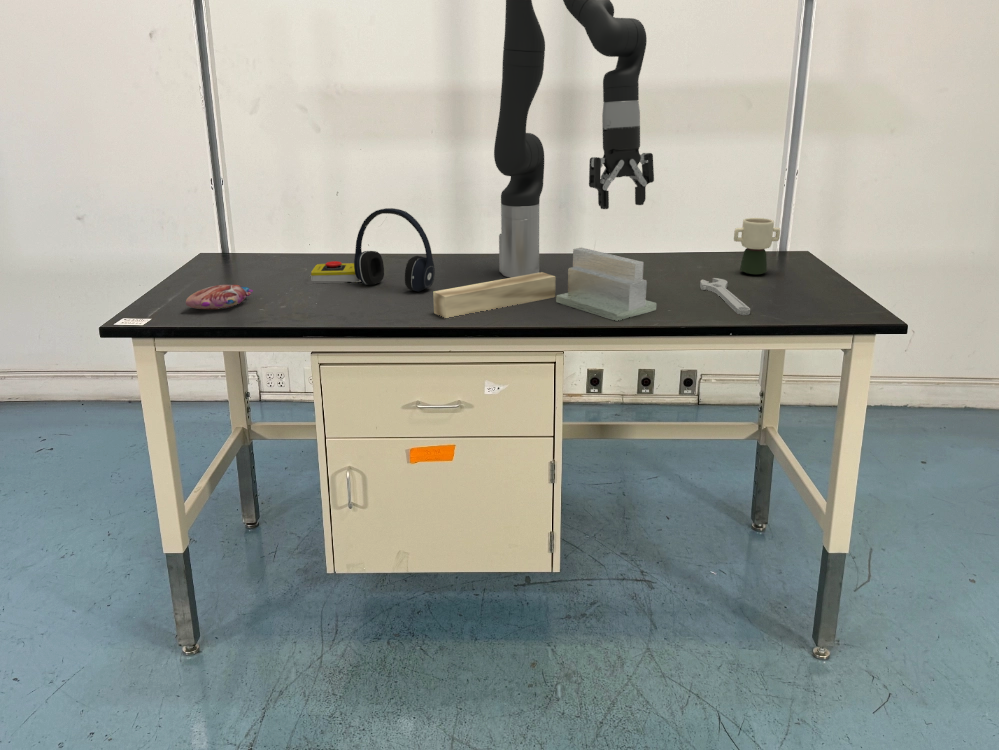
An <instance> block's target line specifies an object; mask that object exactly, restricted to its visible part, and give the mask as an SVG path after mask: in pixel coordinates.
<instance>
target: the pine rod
mask: <svg viewBox="0 0 999 750" xmlns="http://www.w3.org/2000/svg"><path fill="white" fill-rule="evenodd" d="M556 278H557V277H556V276H555V275H552V274H549V273H546V272H543V271H541V272H540V271H539V273H534V274H529V275H523V276H517V277H507V278H503V279H495V280H491V281H485V282H479V283H473V284H468V285H462V286H458V287H457V286H456V287H452V288H446V289H445V288H444V289H439V290H435V291H433V292H432V293H433V298H432V299H433V313H434V314H435V315H436V316H439V315H440V316H439V317H441V316H442V317H441V318H443V317H444V318H443V319H445V318H449V317H454V316H459V315H464V316H466V315H465V314H469V313H474V314H476V313H475V312H479V313H481V312H480V311H484V312H487V311H486V310H488V311H492V310H491V309H493V310H497V309H496V308H498V309H502V307H503V308H506V307H507V306H508V307H512V305H513V306H518V305H523V304H528V303H533V302H536V301H537V302H538V301H542V300H547V299H553V298H556ZM517 304H518V305H517ZM508 307H507V308H508ZM469 315H470V314H469ZM459 317H460V316H459ZM454 318H455V317H454ZM449 319H450V318H449Z"/></svg>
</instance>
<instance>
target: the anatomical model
mask: <svg viewBox="0 0 999 750" xmlns="http://www.w3.org/2000/svg"><path fill="white" fill-rule="evenodd" d="M253 292H254V290H253V289H250V288H249V287H248V286H242V285H239V284H217V285H213V286H212V285H211V286H209V287H206V288H203V289H199V290H197V291H196V292H194V293H192V294H191V295H189V296H188V297H187V298H186V300H185V305H186V306H187V307H189V308H192V309H198V310H219V309H218V308H225V309H227V308H226V307H229V308H232V307H235V306H238V305H240V304H241V302H242V303H243V302H244V301H245V300H246V297H250V295H251V294H252V293H253ZM237 304H238V305H237ZM234 305H235V306H234ZM231 306H232V307H231Z"/></svg>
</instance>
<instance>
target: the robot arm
mask: <svg viewBox="0 0 999 750" xmlns="http://www.w3.org/2000/svg"><path fill="white" fill-rule="evenodd" d="M562 2H563V4H564V5H565V8H566V10H567V11H568V12H569V14H570V15H571V16H572V17H573V18H574V19H575V20H576V21H577V22H578V23H579V24H580V25H581V26H582V27H583V28H584V30H585V33H586V35H587V37H588V39H589V41H590V43H591V45H592V47H593V48H594V49H595V50H596V52H598V53H599V54H600V55H602V56H604V57H608V58H609V57H610V58H611V57H612V58H615V57H617V62H616V66H615V68H614V69H612V70H610V71H607V72H605V74H604V75H603V80H602V92H603V93H602V98H603V99H602V100H603V101H602V113H601V115H602V121H601V122H602V123H601V124H602V150H603V156H602V157H596V156H594V157H593V156H592V157H590V158H589V169H588V170H589V173H588V186H589V188H592V189H595V190H596V191H597V193H598V194H597V196H598V197H597V200H598V201H597V203H598V206H599V207H600V209H601V210H608V209H610V197H609V196H610V195H609V189H608V188H609V187H610V185H611V183H612V182H614V180H615V179H616V178H623V177H627V178H628V177H629V178H630V179H631V180H632V181H633V183H634V185H635V186H634V204H635V205H636V206H643V205H644V204H645V202H646V197H647V196H646V194H647V193H646V187H647V185H649V184H650V183H653V182H655V173H654V172H655V171H654V154H653V153H652V152H642V154H640V147H641V110H640V104H639V103H640V99H639V95H640V94H639V88H640V87H639V78H640V74H641V71H642V66H643V63H644V57H645V54H646V48H647V33H646V28H645V27H644V24H643V23H642V22H641V21H640V20H639V19H638V18H637V19H636V18H632V17H615V16H614V15H615V7H614V5H613V3H612V1H611V0H562ZM504 18H505V19H504V20H505V21H504V23H505V24H504V38H503V39H504V40H503V50H502V70H501V71H502V72H501V73H502V75H501V77H502V78H501V90H500V103H499V115H498V122H497V127H496V128H497V129H496V135H495V141H494V148H493V150H494V151H493V158H494V164H495V166H496V168H497V170H498V171H499V173H501V174H502V175H504V176H506V177H510V179H509V182H508V184H507V185H506V187H505V188H504V189H503V190H502V191H501V194H500V219H501V220H500V226H501V227H500V230H501V233H499V235H498V246H499V247H498V256H499V257H498V258H499V259H498V261H499V264H498V265H499V266H498V267H499V273H501V275H503V276H504V277H507V278H512V277H517V276H523V275H529V274H534V273H540V199H541V198H540V197H541V194H542V192H543V188H544V179H545V178H544V175H545V174H544V172H545V151H544V150H545V149H544V145H543V142H542V141H541V139H540V138H539V137H538V135H535V134H534V133H530V132H527V124H528V123H527V122H528V114H529V111H530V107H531V105H532V104H533V101H534V98H535V96H536V94H537V92H538V89H539V87H540V85H541V81H542V78H543V75H544V69H545V68H544V67H545V51H546V41H545V37H544V33H543V30H542V27H541V24H540V22H539V19H538V17H537V15H536V12H535V9H534V5H533V0H505V16H504ZM639 164H641V170H640V168H639ZM603 166H604V167H605V169H604V170H603V171H602V174H601V170H602V169H601V168H602V167H603Z"/></svg>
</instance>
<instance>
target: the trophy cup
mask: <svg viewBox="0 0 999 750" xmlns="http://www.w3.org/2000/svg"><path fill="white" fill-rule="evenodd" d="M774 225H775V221H774V220H773V219H769V218H764V217H763V218H762V217H748V218H744V219H743V221H742V227H736V228H735V229H734V233H733V234H734V235H733V241H734V242H739V243H741V246H742V247H743V248H745V249H744V251H743V255H742V258H741V262H740V268H739V271H741V272H743V273H745V274H746V275H747V274H750V275H762V274H766V273H767V272H768V271H767V269H768V267H767V261H768V260H767V252H766V249H769V248H771V246H772V244H773V242H779V240H780V237H781V228H780V227H775V226H774ZM774 232H775V236H774V237H773V235H774ZM739 233H741V237H739Z"/></svg>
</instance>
